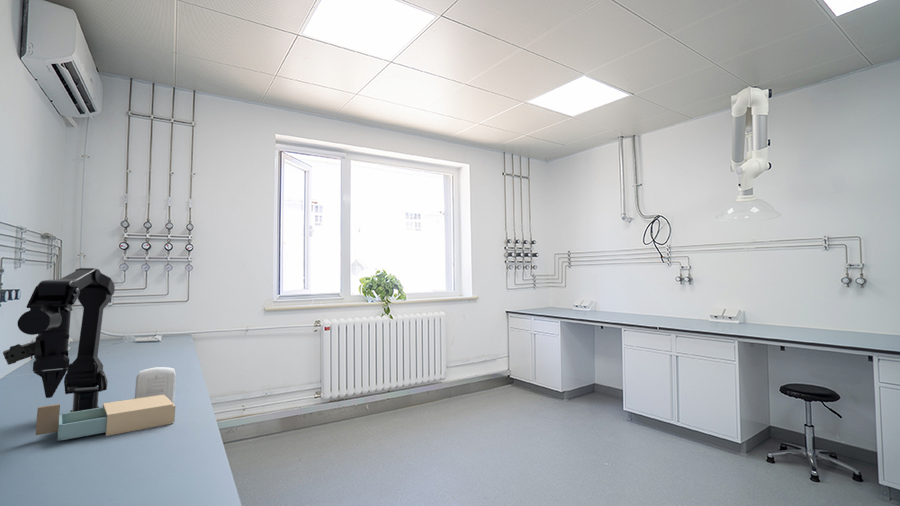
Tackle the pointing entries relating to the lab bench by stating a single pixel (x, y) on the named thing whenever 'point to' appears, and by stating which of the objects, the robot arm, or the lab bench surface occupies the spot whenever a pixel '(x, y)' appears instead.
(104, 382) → the robot arm
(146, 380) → the white product package
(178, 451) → the lab bench surface
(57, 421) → the tray
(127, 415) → the sleeve
